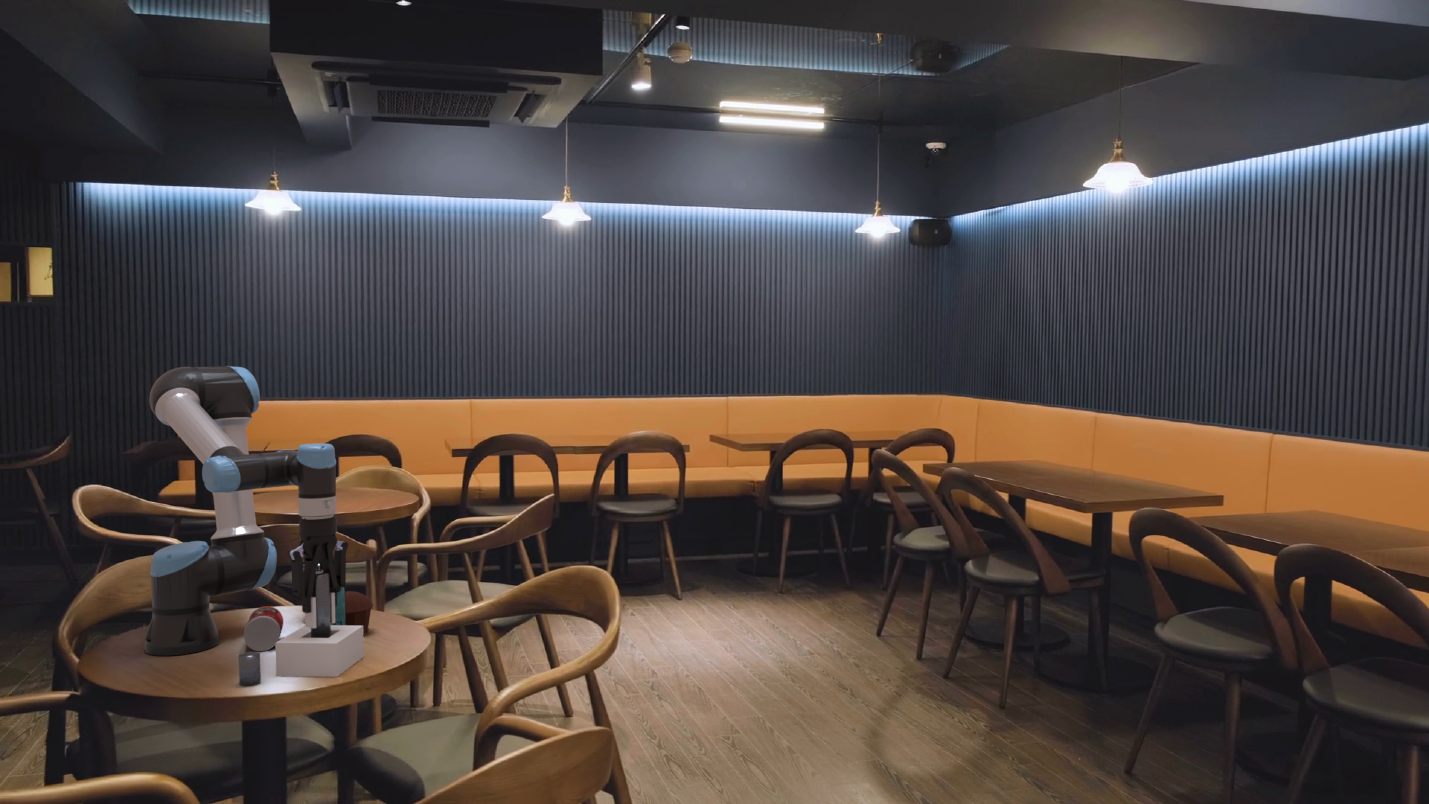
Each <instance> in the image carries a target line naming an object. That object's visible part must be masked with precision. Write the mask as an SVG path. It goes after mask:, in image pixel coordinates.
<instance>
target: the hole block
mask: <svg viewBox="0 0 1429 804" xmlns="http://www.w3.org/2000/svg"><path fill="white" fill-rule="evenodd" d="M364 638H365V637H364V636H363V626H351V625H331V637H329V638H311V628H309V627H306V626H305V625H304V626H302V627H300V628H298V629H296V630H294V631H293V632H292V633H290V634H288V635H286V636H284V637H283V638H281V639H279V640H278V642H276V643H275V645H274V647H275V676H276V677H315V678H316V677H322V678H323V677H326V678H329V677H330V678H331V677H332V678H334V677H335V678H337V677H339V676H341V675H342V674H343V673H344V672H346V671H347V670H348V669H350V668H351V667H352V666H354V665H355V664H356V663H358V662H359V661H360V660H362V659H364V656H365V645H364V644H365V641H364ZM361 658H362V659H361ZM357 661H358V662H357ZM353 664H354V665H353ZM349 667H350V668H349ZM345 670H346V671H345ZM341 673H342V674H341Z"/></svg>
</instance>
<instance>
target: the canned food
mask: <svg viewBox="0 0 1429 804" xmlns="http://www.w3.org/2000/svg"><path fill="white" fill-rule="evenodd" d="M283 626H284V618H283V615H282V613H281V612H280V610H279V609H277V608H275V607H273V606H269V605H268V606H267V605H266V606H261V607H258V608H257V609H255V610H254V611H253V612H252V613H251V614H250V616H249V619H248V620H247V622H246V625H245V627H244V630H243V640H244V642H245V644H246V645H247V646H248V648H249V649H252V650H253V651H254V652H266V651H268V650H270V649H272V648H273V647H275V643H276V642H278V641H279V640H280V638H281V634H282V630H283Z"/></svg>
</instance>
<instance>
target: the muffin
mask: <svg viewBox="0 0 1429 804" xmlns="http://www.w3.org/2000/svg"><path fill="white" fill-rule="evenodd" d="M344 592H345V618H346V625H351V626H363V635H364V634H365V633H366V632H368V633H369V625H370V617H371V610H372V608H373V606H374V603H373V602H372V600H371V599H370V598H369V596H367V595H365V594H363V593H361V592H358V591H354V590H353V591H352V590H347V591H346V590H345V591H344ZM366 634H367V633H366ZM366 634H365V635H366ZM365 635H364V636H365Z"/></svg>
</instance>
